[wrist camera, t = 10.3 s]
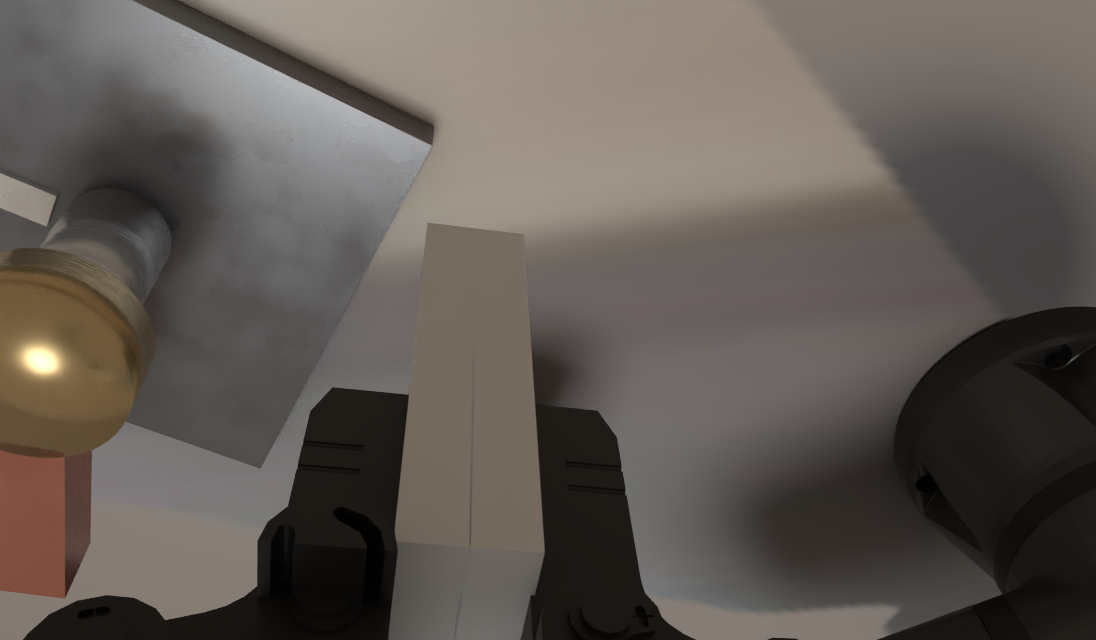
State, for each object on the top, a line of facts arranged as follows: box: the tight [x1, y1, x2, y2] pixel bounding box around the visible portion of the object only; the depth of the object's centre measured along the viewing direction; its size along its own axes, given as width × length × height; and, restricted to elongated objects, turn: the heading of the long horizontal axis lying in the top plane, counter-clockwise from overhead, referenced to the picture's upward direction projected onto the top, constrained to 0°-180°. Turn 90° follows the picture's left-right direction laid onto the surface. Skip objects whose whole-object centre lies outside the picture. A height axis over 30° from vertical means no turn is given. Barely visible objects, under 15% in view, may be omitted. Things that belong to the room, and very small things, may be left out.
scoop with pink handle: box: [0, 248, 156, 598], centre depth 36 cm, size 14×7×3 cm, turn 165°
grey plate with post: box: [0, 0, 434, 468], centre depth 40 cm, size 20×20×9 cm
